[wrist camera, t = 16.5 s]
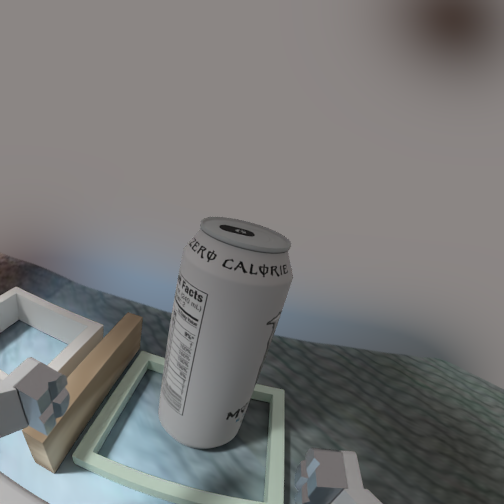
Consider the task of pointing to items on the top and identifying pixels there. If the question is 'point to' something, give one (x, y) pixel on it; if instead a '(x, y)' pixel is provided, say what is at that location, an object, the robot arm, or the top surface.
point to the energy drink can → (221, 328)
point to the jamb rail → (87, 391)
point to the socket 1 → (51, 327)
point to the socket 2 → (186, 498)
